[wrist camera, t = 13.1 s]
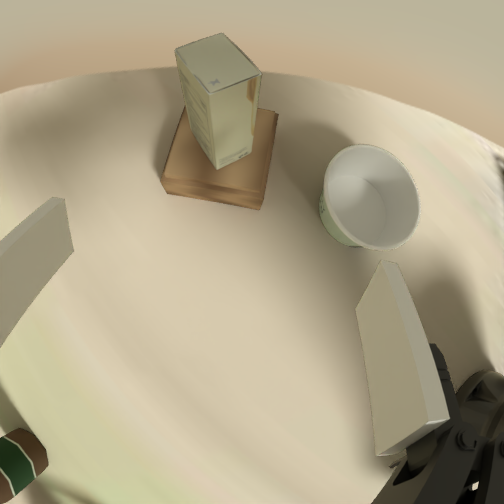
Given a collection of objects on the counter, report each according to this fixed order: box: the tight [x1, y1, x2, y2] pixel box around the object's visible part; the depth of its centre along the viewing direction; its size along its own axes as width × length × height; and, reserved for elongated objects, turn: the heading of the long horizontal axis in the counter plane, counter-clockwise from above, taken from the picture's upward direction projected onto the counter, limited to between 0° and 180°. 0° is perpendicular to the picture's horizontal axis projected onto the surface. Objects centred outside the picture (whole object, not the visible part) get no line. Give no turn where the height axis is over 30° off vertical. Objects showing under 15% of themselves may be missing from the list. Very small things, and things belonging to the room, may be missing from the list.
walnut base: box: [160, 105, 278, 210], centre depth 32 cm, size 11×11×5 cm
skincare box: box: [175, 33, 262, 170], centre depth 24 cm, size 6×4×12 cm
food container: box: [319, 144, 421, 251], centre depth 32 cm, size 12×12×6 cm
